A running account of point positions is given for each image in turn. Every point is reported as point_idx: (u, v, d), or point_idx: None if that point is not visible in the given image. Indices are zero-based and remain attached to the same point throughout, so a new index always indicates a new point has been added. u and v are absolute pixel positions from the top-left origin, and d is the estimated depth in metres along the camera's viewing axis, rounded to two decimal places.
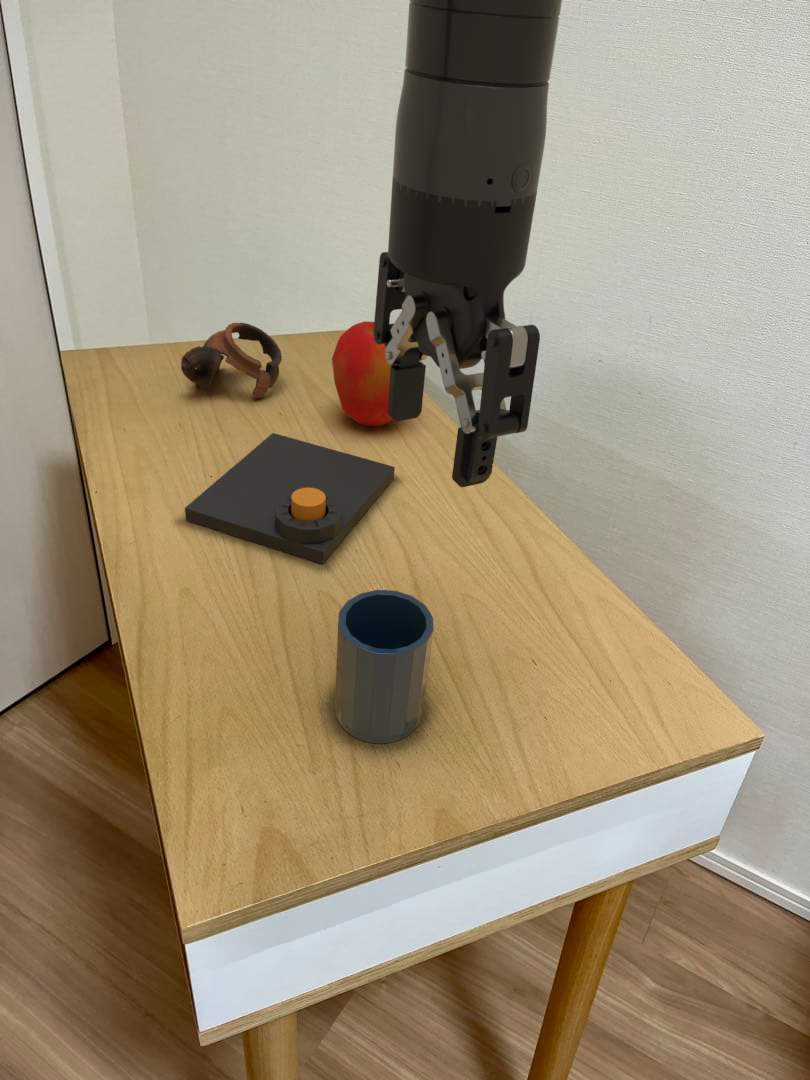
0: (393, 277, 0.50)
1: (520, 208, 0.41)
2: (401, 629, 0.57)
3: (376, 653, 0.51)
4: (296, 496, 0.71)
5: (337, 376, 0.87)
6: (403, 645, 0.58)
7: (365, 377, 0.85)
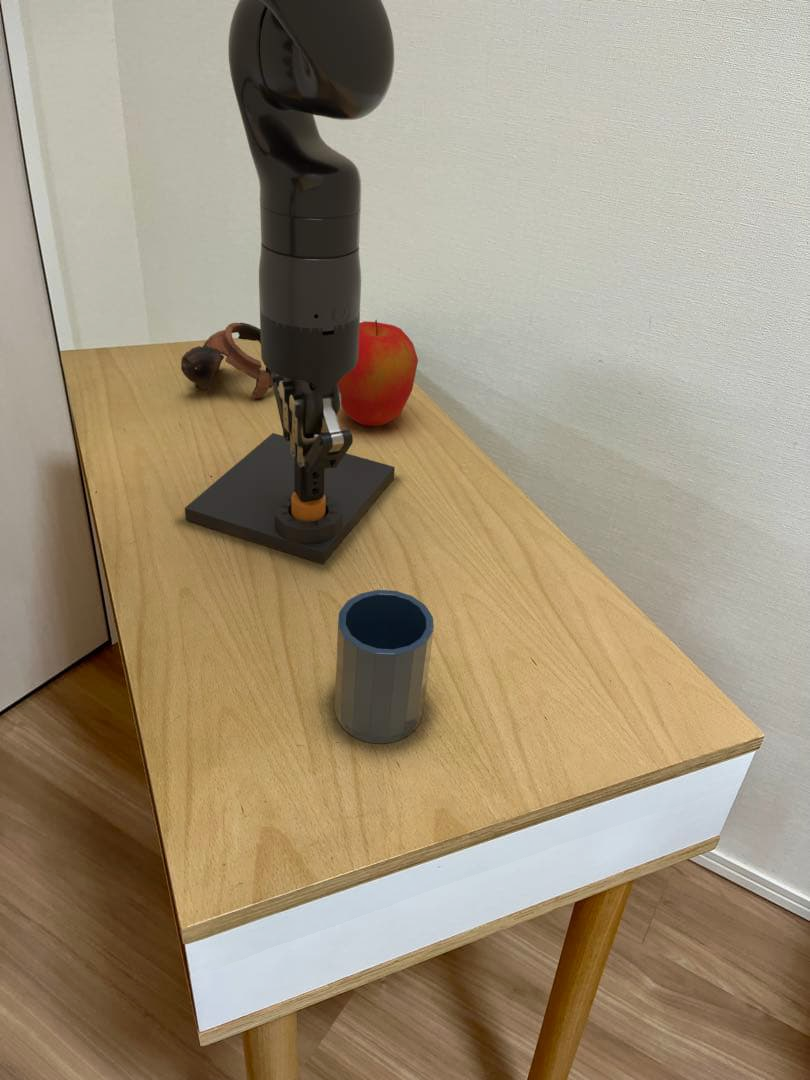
0: None
1: (342, 331, 0.60)
2: (401, 629, 0.57)
3: (376, 653, 0.51)
4: (296, 496, 0.71)
5: None
6: (403, 645, 0.58)
7: (365, 377, 0.85)
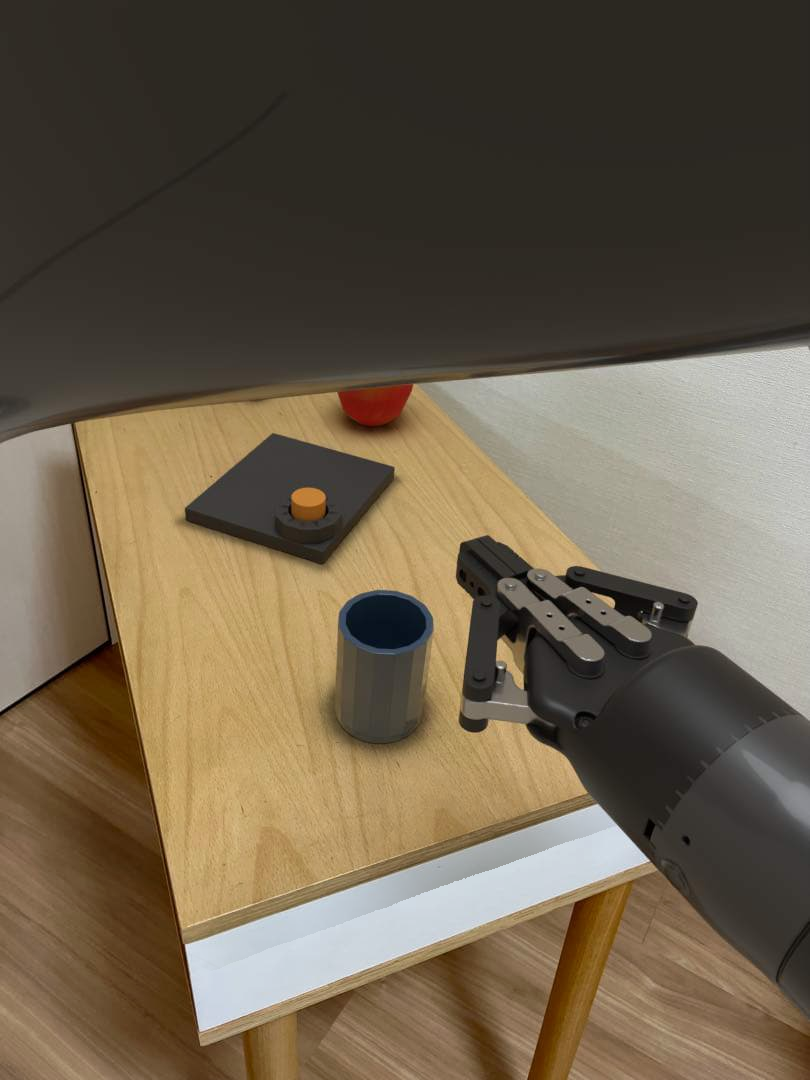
0: (663, 611, 0.37)
1: (644, 848, 0.28)
2: (401, 629, 0.57)
3: (376, 653, 0.51)
4: (296, 496, 0.71)
5: None
6: (403, 645, 0.58)
7: None
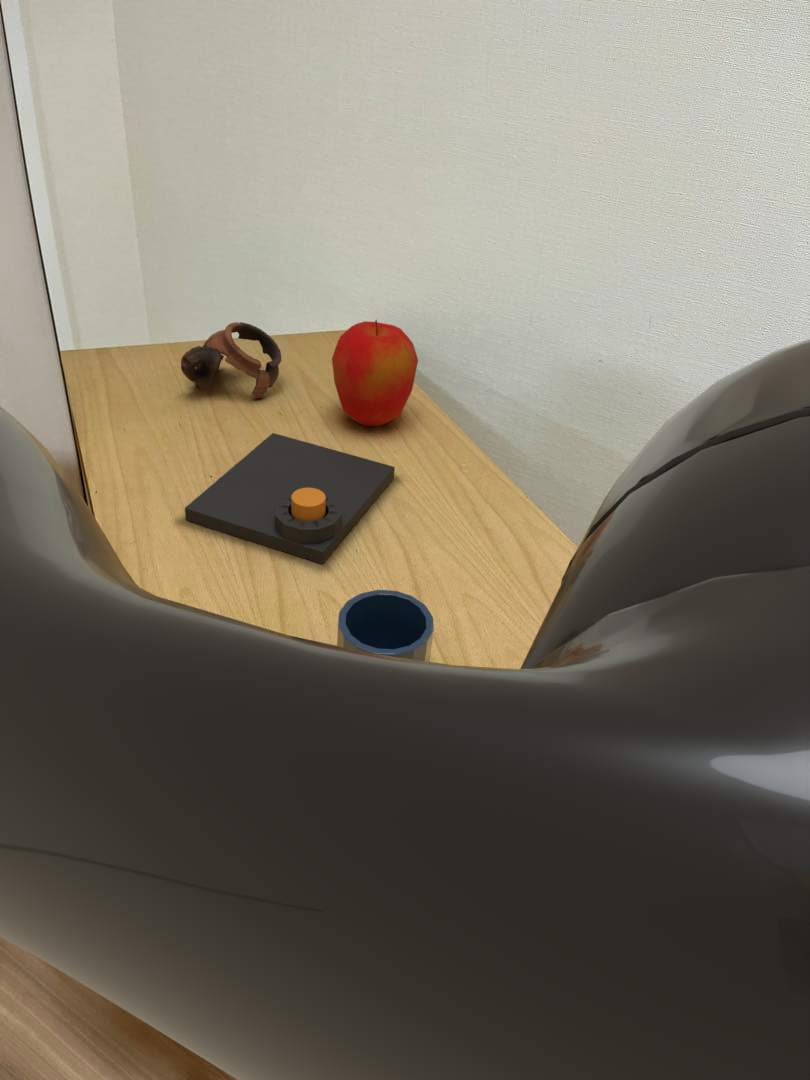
0: None
1: None
2: (401, 629, 0.57)
3: (376, 653, 0.51)
4: (296, 496, 0.71)
5: (337, 376, 0.87)
6: (403, 645, 0.58)
7: (365, 377, 0.85)
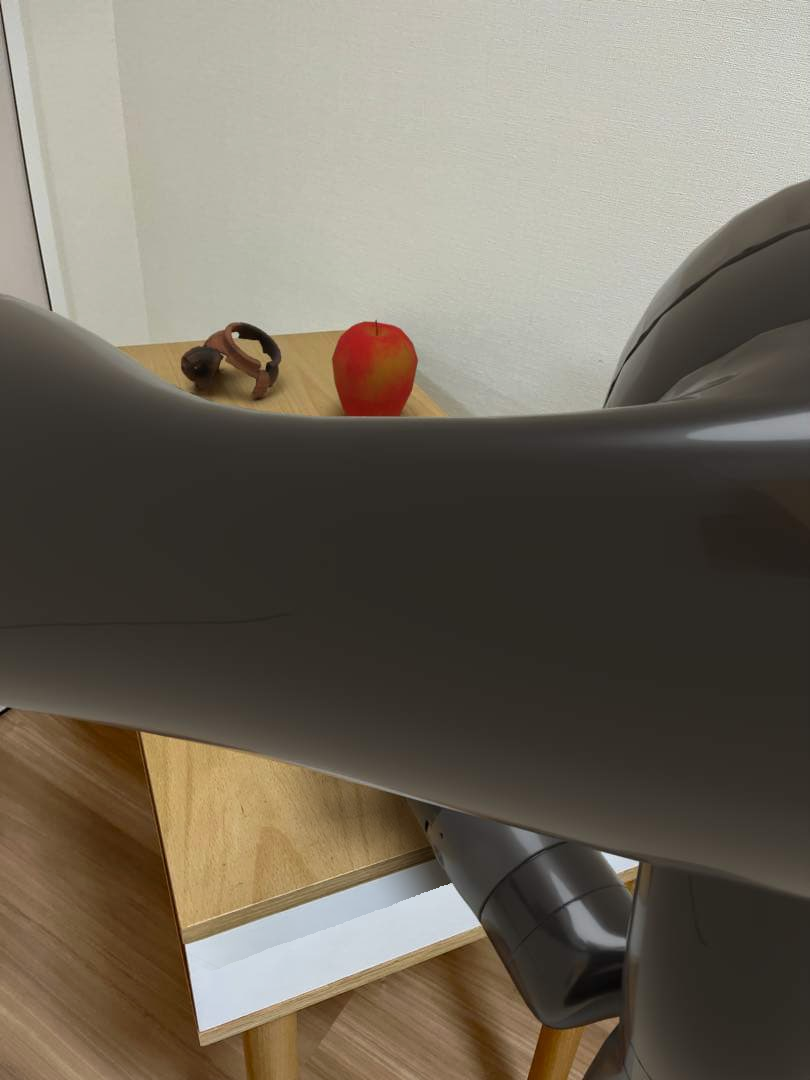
0: None
1: (427, 837, 0.44)
2: None
3: None
4: None
5: (337, 376, 0.87)
6: None
7: (365, 377, 0.85)
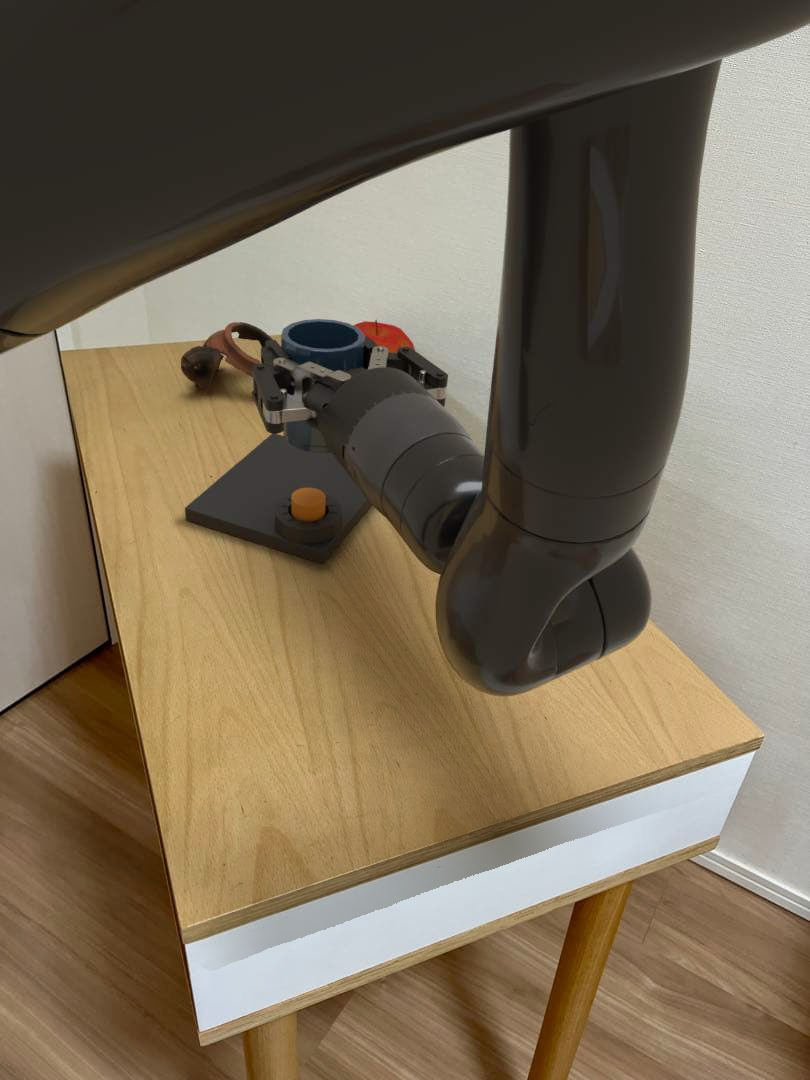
0: (427, 377, 0.60)
1: (345, 467, 0.52)
2: None
3: (311, 350, 0.59)
4: (296, 496, 0.71)
5: None
6: None
7: None
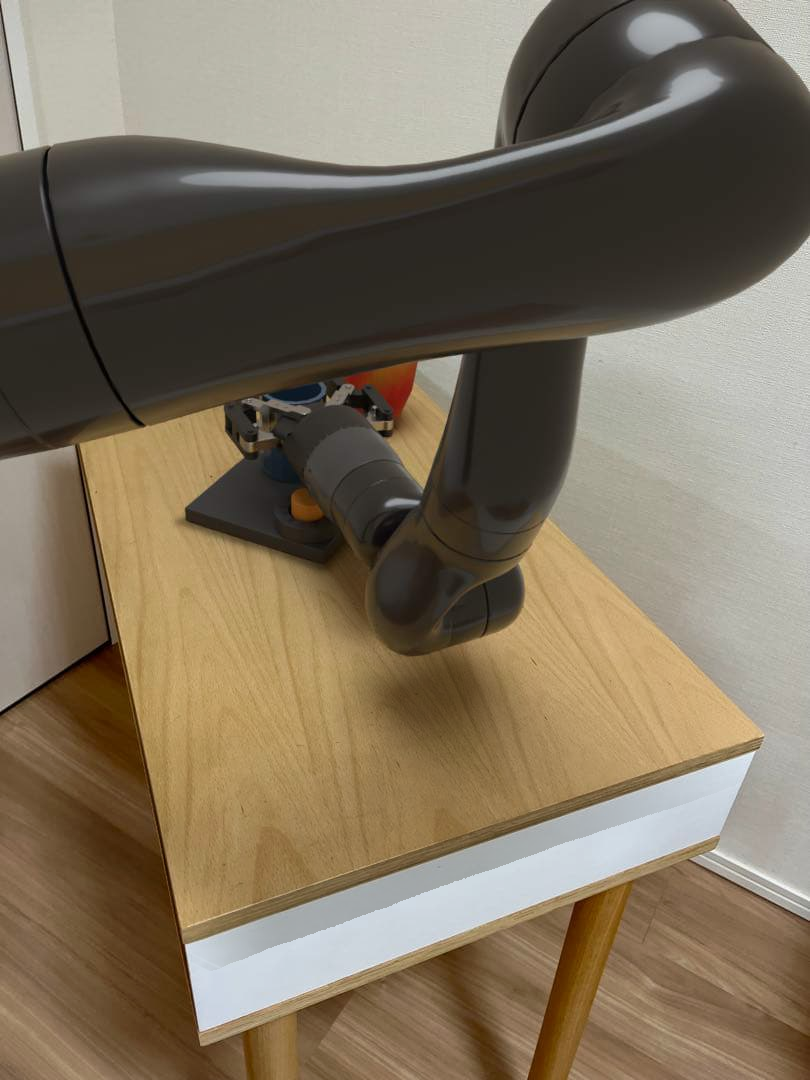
0: (377, 412, 0.73)
1: (304, 484, 0.66)
2: None
3: None
4: (296, 496, 0.71)
5: None
6: None
7: (365, 377, 0.85)
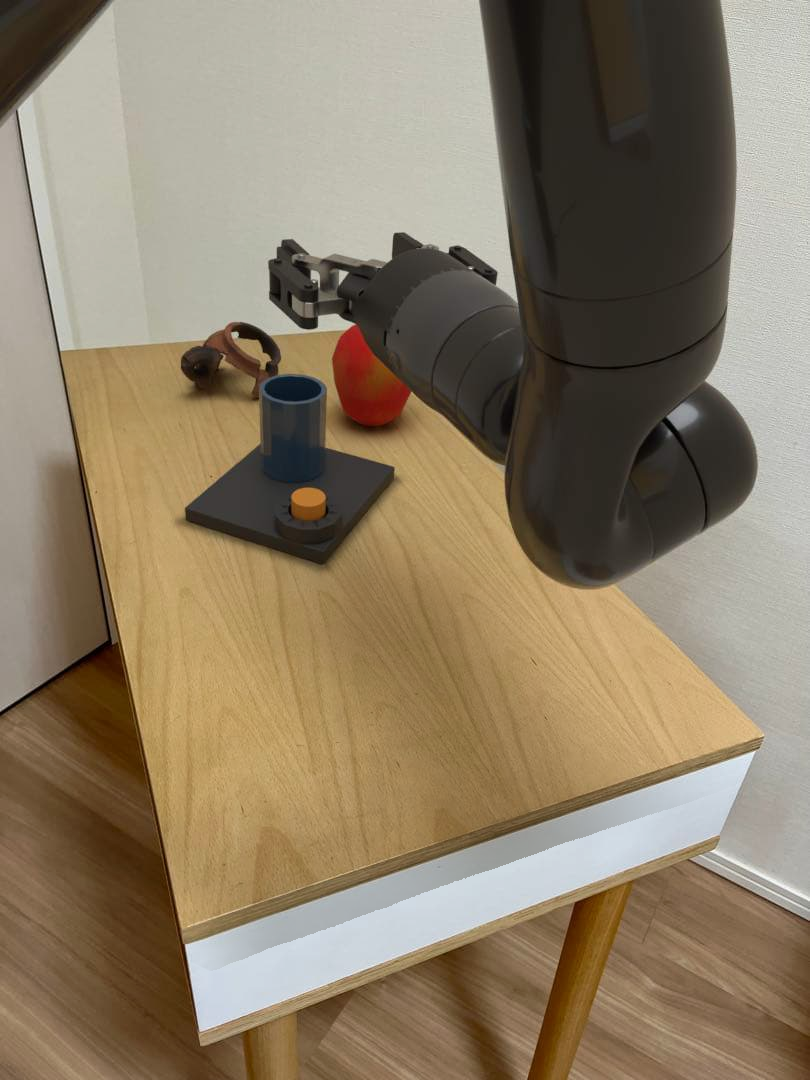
0: None
1: (386, 357, 0.47)
2: None
3: (282, 402, 0.73)
4: (296, 496, 0.71)
5: (337, 376, 0.87)
6: None
7: (365, 377, 0.85)
